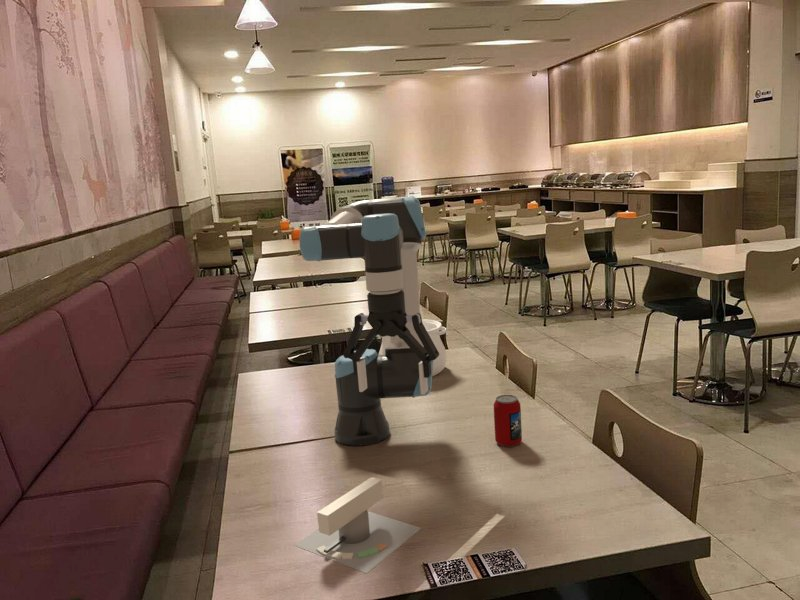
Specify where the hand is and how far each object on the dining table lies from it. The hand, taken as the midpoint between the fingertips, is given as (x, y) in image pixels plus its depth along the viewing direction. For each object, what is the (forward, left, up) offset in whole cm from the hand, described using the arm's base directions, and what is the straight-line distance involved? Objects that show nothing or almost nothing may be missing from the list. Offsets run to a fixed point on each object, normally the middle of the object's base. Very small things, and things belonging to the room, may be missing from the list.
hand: (393, 391), depth 136 cm
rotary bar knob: (+1, -17, -24) cm, 29 cm away
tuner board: (+2, -17, -25) cm, 30 cm away
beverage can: (+6, +38, -25) cm, 46 cm away
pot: (-53, +79, -26) cm, 99 cm away
